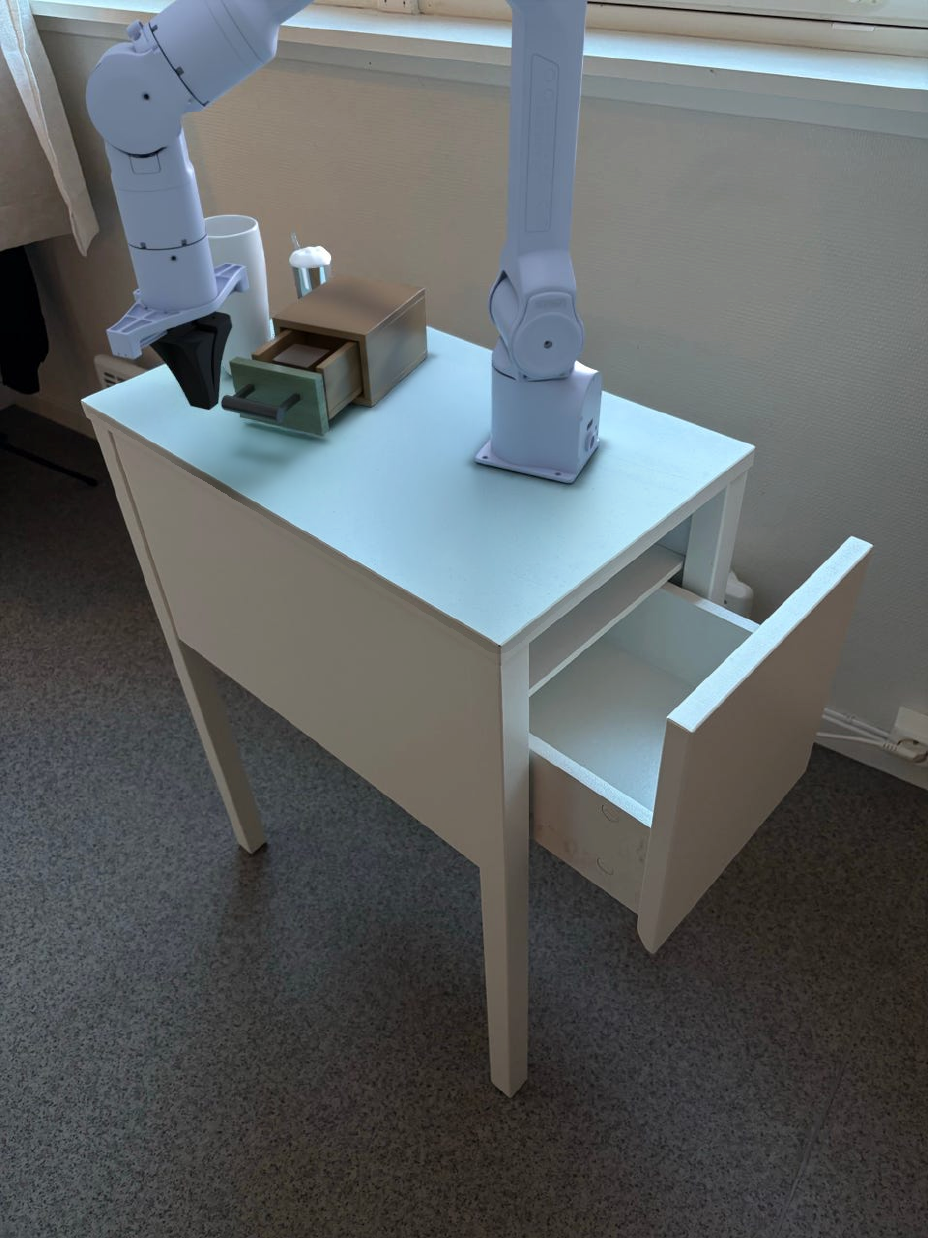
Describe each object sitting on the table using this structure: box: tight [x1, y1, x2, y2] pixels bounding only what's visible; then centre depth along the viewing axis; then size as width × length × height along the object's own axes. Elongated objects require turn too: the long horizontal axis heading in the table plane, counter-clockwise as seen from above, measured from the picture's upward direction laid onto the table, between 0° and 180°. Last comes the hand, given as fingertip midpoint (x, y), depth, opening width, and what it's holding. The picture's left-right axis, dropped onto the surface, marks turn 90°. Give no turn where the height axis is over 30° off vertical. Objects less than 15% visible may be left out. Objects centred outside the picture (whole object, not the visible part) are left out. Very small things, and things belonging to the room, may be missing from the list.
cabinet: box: [271, 273, 429, 408], centre depth 95 cm, size 13×11×8 cm
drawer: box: [220, 328, 364, 437], centre depth 88 cm, size 16×9×6 cm, turn 155°
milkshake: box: [288, 232, 332, 300], centre depth 103 cm, size 5×5×10 cm
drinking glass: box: [204, 214, 272, 377], centre depth 94 cm, size 7×7×15 cm
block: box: [272, 343, 330, 373], centre depth 89 cm, size 4×4×4 cm
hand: (204, 404), depth 76 cm, fingers closed
